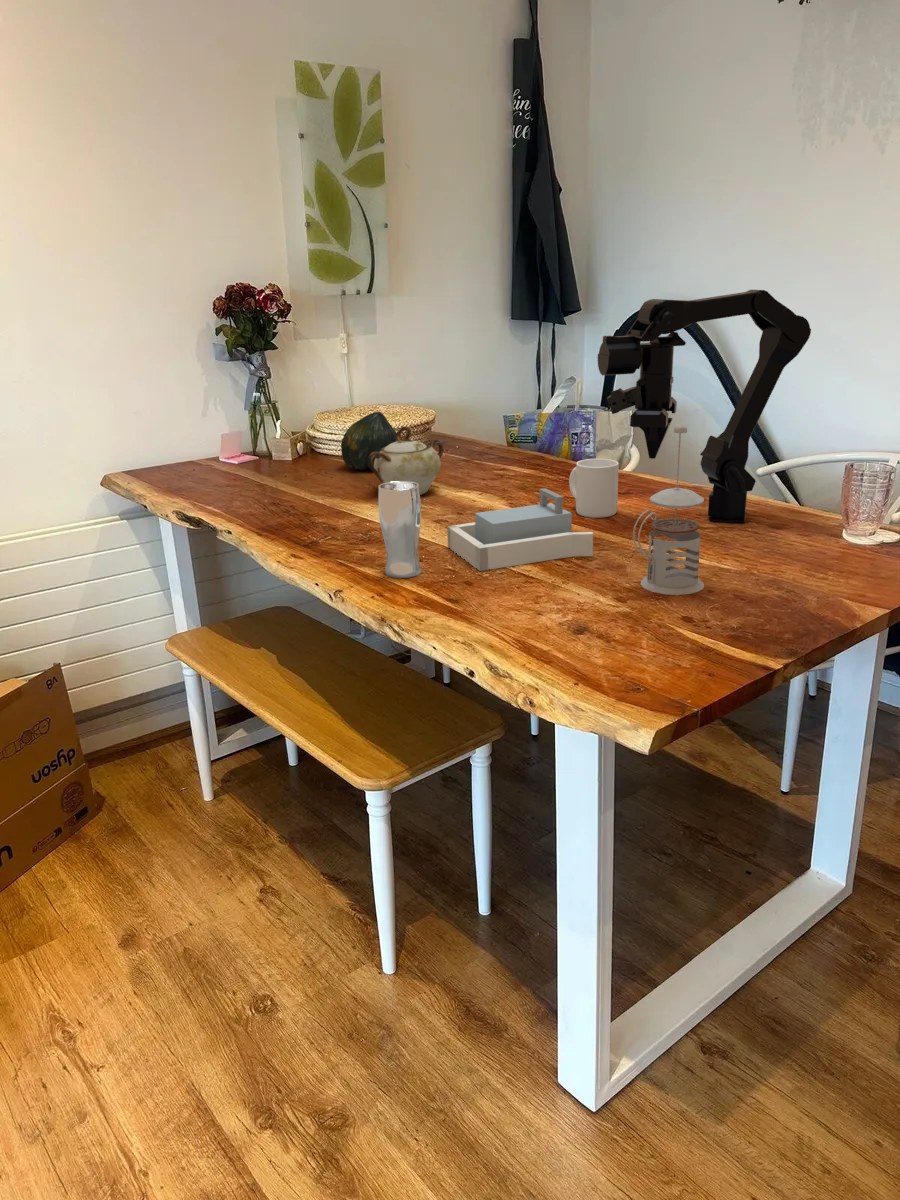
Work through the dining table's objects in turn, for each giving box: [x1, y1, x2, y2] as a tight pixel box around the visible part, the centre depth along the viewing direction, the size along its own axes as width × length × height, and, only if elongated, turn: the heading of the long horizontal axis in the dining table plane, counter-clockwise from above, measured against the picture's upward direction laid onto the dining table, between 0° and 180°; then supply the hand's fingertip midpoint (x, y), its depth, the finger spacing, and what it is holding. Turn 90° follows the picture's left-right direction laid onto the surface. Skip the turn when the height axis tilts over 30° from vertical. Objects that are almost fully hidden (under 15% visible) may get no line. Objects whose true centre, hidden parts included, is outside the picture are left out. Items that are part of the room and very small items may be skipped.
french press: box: [632, 424, 705, 596], centre depth 137 cm, size 10×12×25 cm
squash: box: [340, 411, 398, 471], centre depth 229 cm, size 14×15×15 cm
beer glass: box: [377, 481, 422, 579], centre depth 149 cm, size 7×7×15 cm
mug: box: [568, 458, 619, 519], centre depth 182 cm, size 12×8×10 cm
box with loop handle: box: [474, 488, 573, 545], centre depth 160 cm, size 15×8×10 cm, turn 111°
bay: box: [446, 521, 594, 572], centre depth 160 cm, size 21×18×4 cm
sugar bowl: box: [368, 426, 444, 496], centre depth 202 cm, size 20×15×15 cm
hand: (652, 458), depth 168 cm, fingers closed
